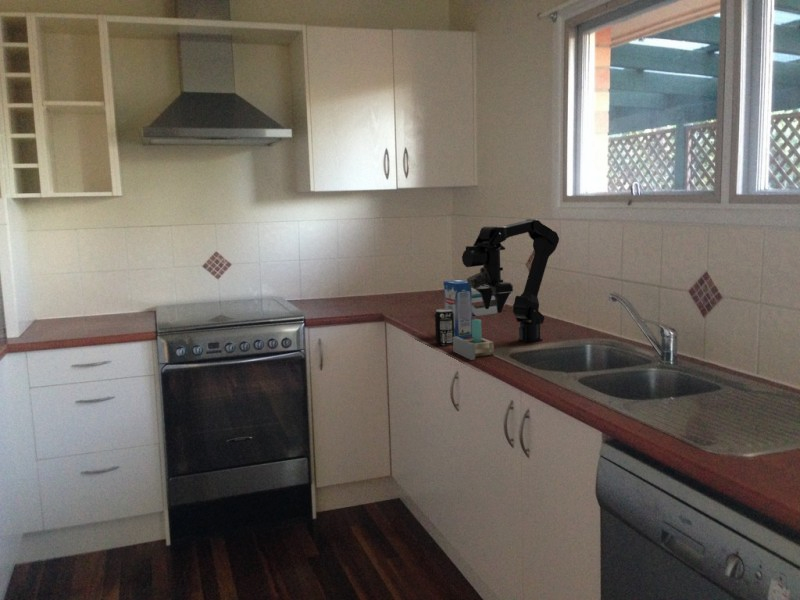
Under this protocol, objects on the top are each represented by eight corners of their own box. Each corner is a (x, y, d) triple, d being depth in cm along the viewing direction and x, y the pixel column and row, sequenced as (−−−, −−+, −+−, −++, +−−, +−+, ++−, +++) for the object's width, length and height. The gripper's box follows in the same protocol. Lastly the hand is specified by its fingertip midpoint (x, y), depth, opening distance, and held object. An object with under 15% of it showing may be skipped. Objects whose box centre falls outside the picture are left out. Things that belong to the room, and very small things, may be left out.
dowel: (479, 349, 238) (478, 319, 237) (483, 350, 235) (482, 320, 234) (471, 350, 237) (470, 319, 236) (474, 351, 234) (474, 321, 233)
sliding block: (483, 349, 241) (482, 337, 241) (493, 354, 234) (493, 342, 233) (461, 352, 239) (460, 340, 238) (471, 357, 231) (470, 344, 231)
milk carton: (445, 334, 271) (443, 281, 268) (460, 332, 273) (458, 279, 270) (457, 338, 262) (456, 283, 259) (473, 336, 264) (471, 282, 261)
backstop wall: (457, 351, 242) (457, 336, 241) (475, 359, 228) (474, 343, 228) (453, 351, 241) (452, 336, 240) (470, 359, 228) (470, 344, 227)
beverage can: (443, 341, 259) (442, 308, 257) (458, 342, 254) (457, 309, 253) (432, 344, 254) (430, 310, 252) (447, 346, 249) (446, 312, 248)
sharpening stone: (462, 317, 305) (461, 292, 303) (453, 315, 311) (452, 290, 310) (511, 311, 315) (511, 286, 314) (501, 308, 322) (500, 284, 321)
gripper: (458, 264, 247) (459, 309, 249) (481, 268, 229) (483, 317, 232) (487, 261, 250) (489, 306, 253) (513, 265, 233) (514, 313, 235)
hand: (493, 310), depth 243 cm, fingers open, 9 cm apart
